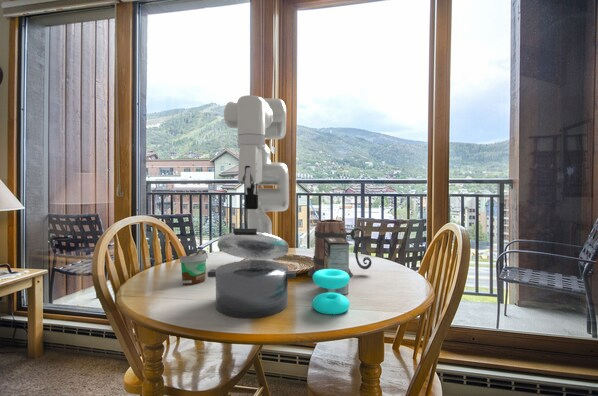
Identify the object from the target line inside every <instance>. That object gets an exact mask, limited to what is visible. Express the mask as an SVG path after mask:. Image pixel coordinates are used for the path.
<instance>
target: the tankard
mask: <svg viewBox="0 0 598 396" xmlns="http://www.w3.org/2000/svg"><path fill="white" fill-rule="evenodd" d="M356 231H360V237H359V239H358V240H357V242H356V244H355V248H354V250H355V251H354V255H355V260H356V262H357V266H358V267H359V268H361V270H367V269H369V268H370V267H371V266H372V264H373V263H372V259H371V258H370V257H369V256H365V257H363V259H362V262H363V264H364V265H363V264H361V262H360V261H359V257H358V256H359V253H358V251H359V246H361V245H360V244H361V243H362V242H363V239H364V235H365V233H364V230H363V229H362V228H361V227H359V226H356V227H353V228H352V229H351V231H350V232H348V231H347V229H346V224H345V221H344V220H338V219H323V220H317V221H316V226H315V231H314V250H313V252H314V253H313V254H314V255H313V256H312V261H313V266H312V267H311V268H310V270H309V271H308V272H307V276H309V277H310V278H312V279H313V274H314V273H315V272H316V271H318V270H322V269H324V238H343V239H345V240H346V241H347V236H350V237H351V239H352V240H353V241H356V237H355V236H356ZM366 261H368V262H366ZM353 276H354V274H353V272H352V271H351V269H350V268H349V277H350V279H351V278H353Z"/></svg>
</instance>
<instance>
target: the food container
mask: <svg viewBox="0 0 598 396" xmlns="http://www.w3.org/2000/svg"><path fill="white" fill-rule="evenodd" d="M207 259H209V256H208V252H207V250H205V249H199V248H198V249H197V251H196V252H194V253H189V254H188V255H184V256H183V255H181V256H180V257H179V263H180V266H181V267H180V268H181V279H182V280H181V281H182V286H194V285H199V284H202V283H204V282H205V281H206V269H207Z"/></svg>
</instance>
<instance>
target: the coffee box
mask: <svg viewBox="0 0 598 396" xmlns="http://www.w3.org/2000/svg"><path fill="white" fill-rule="evenodd" d="M349 261H350V242H349V241H347V239H346V240H345V239H343V238H324V269H337V270H342V271H344V272H346V273H347V274H348V275H349V269H350V267H349V266H350V263H349ZM325 289H326V292H327V293H328V292H332V293H338V294H341V295H349V283H348V284H347V285H346V286H344V287H342V288H338V289H327V288H325Z"/></svg>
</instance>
